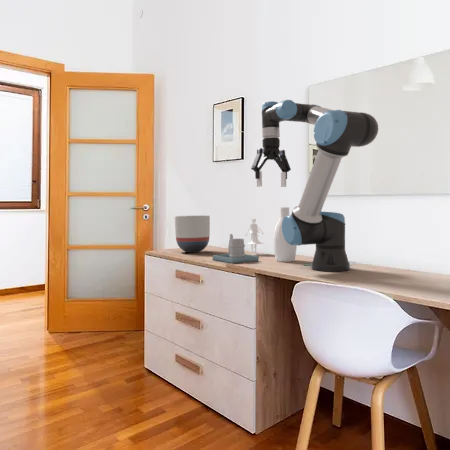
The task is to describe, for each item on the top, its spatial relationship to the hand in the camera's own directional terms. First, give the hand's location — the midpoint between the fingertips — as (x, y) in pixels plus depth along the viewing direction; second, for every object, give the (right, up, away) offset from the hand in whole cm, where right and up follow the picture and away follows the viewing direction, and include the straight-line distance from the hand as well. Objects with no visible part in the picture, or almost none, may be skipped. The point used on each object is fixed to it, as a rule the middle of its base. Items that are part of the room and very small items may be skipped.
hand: (271, 186), depth 187 cm
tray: (-16, -34, +18) cm, 42 cm away
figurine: (-4, -33, +43) cm, 55 cm away
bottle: (+8, -34, +14) cm, 38 cm away
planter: (-40, -33, +62) cm, 81 cm away
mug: (-16, -34, +18) cm, 41 cm away
